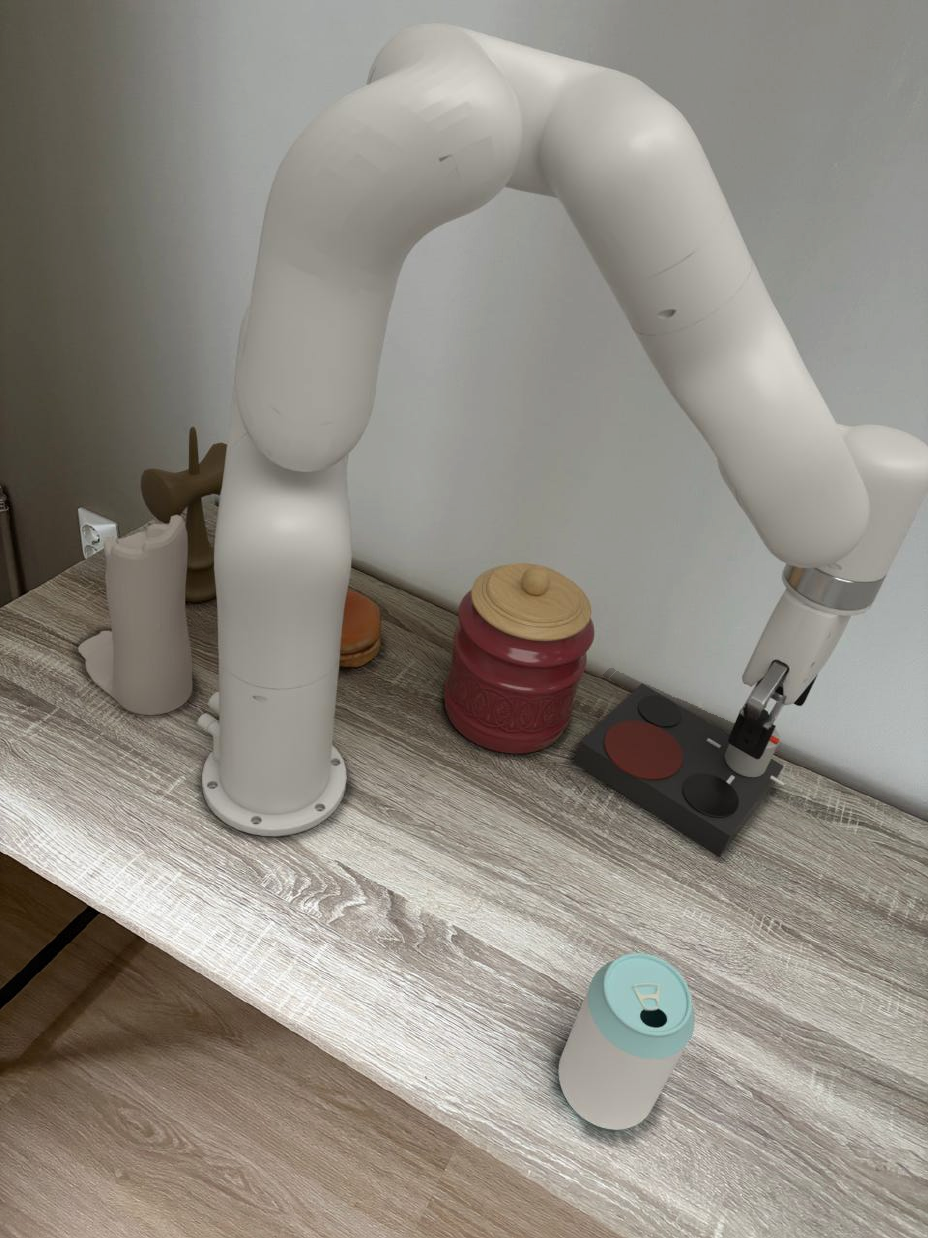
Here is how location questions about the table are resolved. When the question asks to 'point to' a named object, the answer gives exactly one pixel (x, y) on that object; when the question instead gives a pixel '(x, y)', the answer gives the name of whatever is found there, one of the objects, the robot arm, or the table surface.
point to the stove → (679, 774)
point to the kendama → (189, 510)
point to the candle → (145, 622)
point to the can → (626, 1040)
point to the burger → (359, 630)
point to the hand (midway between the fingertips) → (766, 723)
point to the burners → (665, 757)
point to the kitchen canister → (518, 657)
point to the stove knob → (751, 758)
